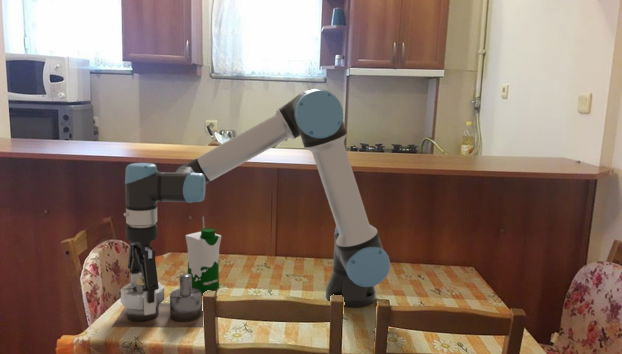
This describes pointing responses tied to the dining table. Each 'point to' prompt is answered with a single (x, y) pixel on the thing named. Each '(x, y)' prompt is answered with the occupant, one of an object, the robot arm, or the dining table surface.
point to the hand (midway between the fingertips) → (142, 304)
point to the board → (157, 319)
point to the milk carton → (204, 259)
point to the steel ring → (138, 296)
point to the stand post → (185, 301)
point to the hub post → (139, 315)
